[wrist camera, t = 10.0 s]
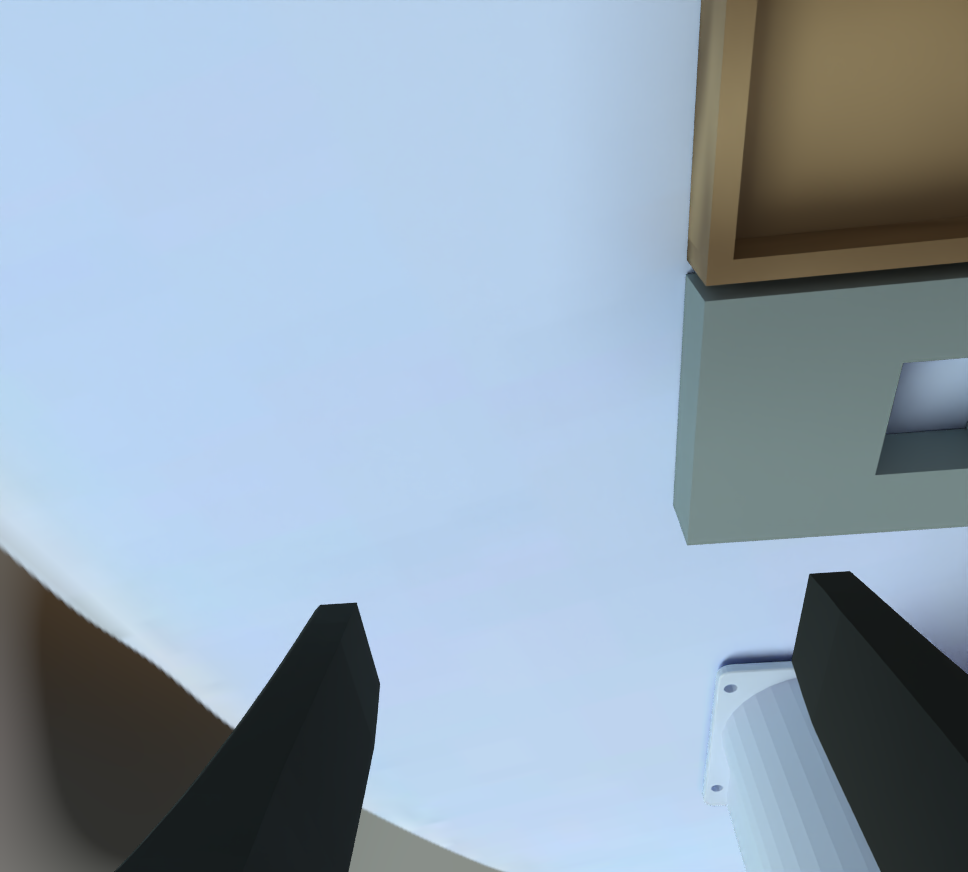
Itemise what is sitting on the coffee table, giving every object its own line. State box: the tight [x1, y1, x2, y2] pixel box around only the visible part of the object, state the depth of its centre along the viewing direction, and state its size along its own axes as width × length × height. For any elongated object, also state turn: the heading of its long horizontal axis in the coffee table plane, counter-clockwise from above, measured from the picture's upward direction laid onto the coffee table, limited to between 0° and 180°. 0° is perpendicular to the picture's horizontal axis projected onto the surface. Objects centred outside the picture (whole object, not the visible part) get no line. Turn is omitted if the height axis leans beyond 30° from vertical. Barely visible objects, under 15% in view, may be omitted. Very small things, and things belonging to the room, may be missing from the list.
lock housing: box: [673, 262, 968, 545], centre depth 19 cm, size 8×14×2 cm, turn 96°
